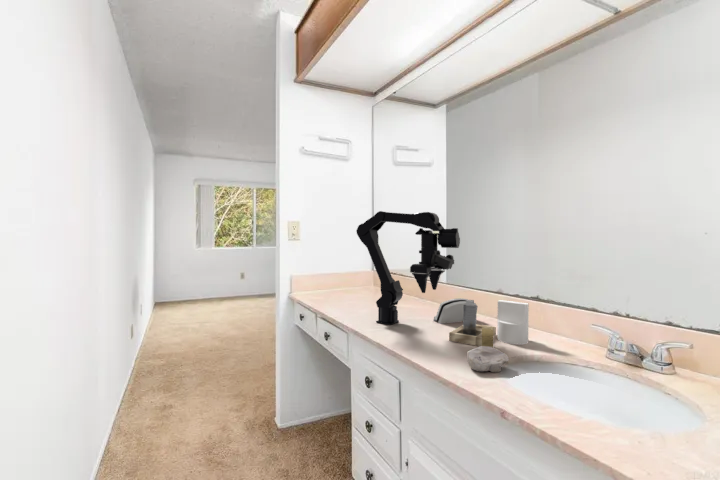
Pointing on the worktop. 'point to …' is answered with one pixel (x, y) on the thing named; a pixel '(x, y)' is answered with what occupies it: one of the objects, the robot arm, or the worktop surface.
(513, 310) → the cylinder with rectangular tab
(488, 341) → the square bit
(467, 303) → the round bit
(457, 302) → the grey curved block
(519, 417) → the worktop surface
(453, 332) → the block
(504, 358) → the fossil
